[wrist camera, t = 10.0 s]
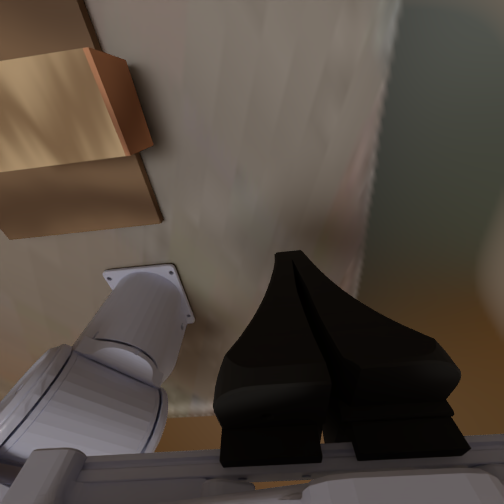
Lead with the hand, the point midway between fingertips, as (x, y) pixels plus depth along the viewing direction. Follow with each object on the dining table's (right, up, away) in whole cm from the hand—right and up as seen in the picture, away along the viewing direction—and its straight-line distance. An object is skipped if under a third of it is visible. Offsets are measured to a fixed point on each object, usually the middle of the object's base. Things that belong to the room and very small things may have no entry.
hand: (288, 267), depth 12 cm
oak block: (-10, +10, +2) cm, 14 cm away
